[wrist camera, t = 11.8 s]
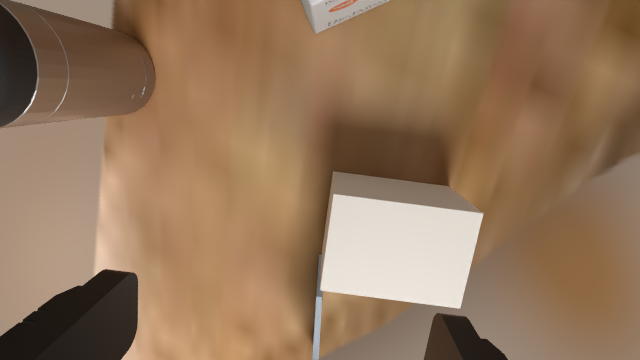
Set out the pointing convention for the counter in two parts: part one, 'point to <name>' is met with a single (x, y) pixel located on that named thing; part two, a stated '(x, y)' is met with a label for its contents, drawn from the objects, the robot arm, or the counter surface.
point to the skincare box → (335, 11)
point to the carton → (398, 240)
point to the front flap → (317, 313)
